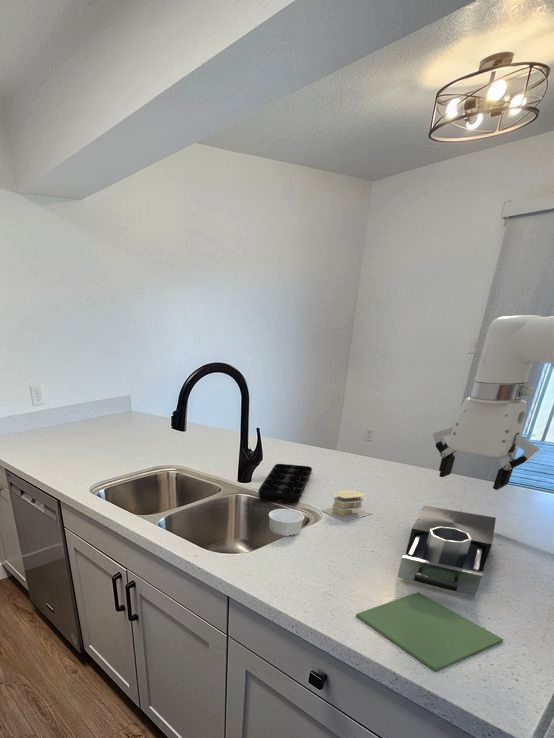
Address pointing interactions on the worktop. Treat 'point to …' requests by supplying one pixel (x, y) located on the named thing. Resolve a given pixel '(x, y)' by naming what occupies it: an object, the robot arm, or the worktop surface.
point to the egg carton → (285, 483)
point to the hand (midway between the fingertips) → (470, 481)
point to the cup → (447, 546)
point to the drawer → (442, 569)
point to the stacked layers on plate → (347, 506)
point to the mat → (429, 630)
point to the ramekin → (285, 521)
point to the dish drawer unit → (467, 522)
